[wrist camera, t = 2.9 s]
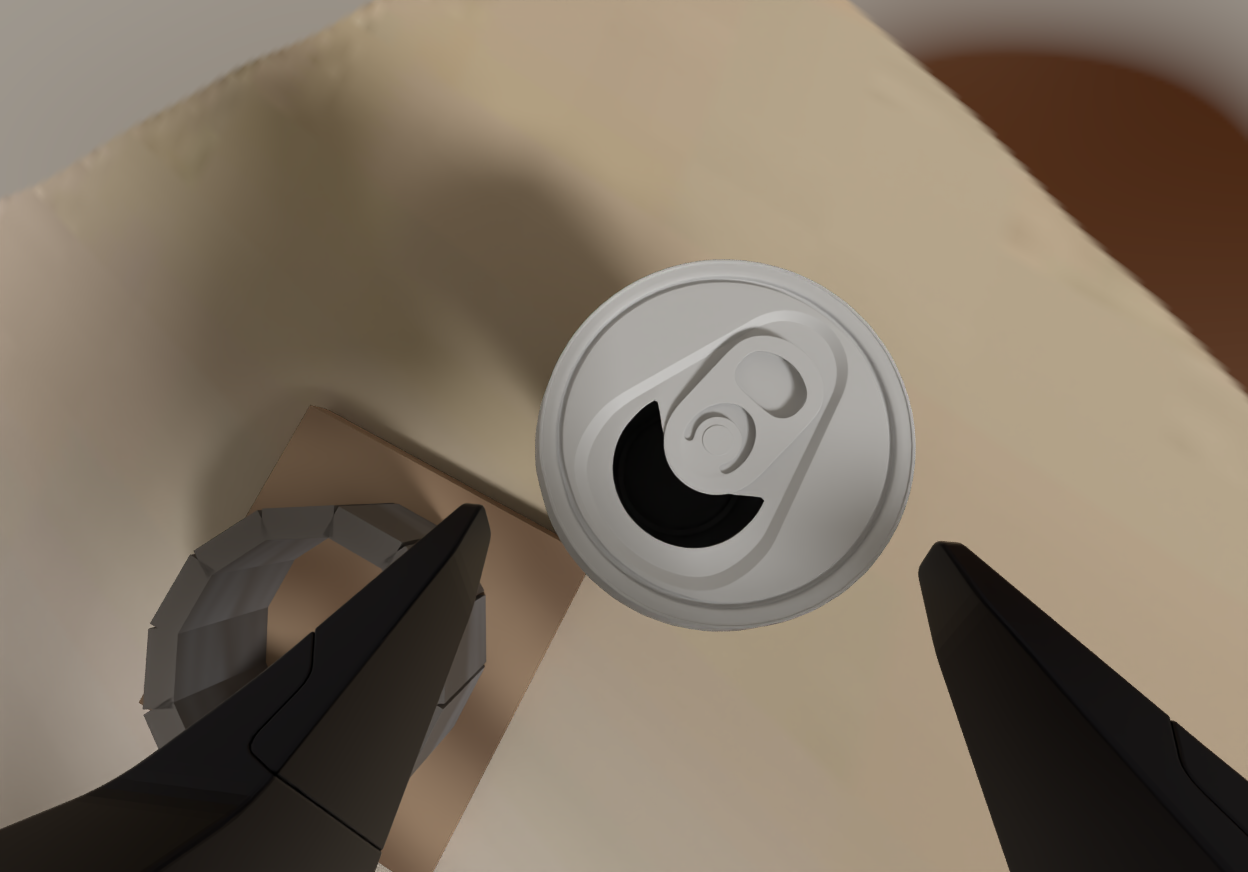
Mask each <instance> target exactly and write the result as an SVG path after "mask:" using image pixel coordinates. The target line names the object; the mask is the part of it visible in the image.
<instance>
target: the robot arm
mask: <svg viewBox="0 0 1248 872" xmlns="http://www.w3.org/2000/svg"><path fill="white" fill-rule="evenodd" d="M490 538H491V530H490V525H489V522H488V518H487V514H486V510H485V508H484V506H483V505H481V504H471V503H465V504H462V505H460V506H459V507H458V508H457V509H456V510H454V511H453V512H452V513H451V514H450V515H449V516H447V517H446V518H445V519H444V520H443V521H441V522H440V523H439V524H438V525H437V526H436V527H434V528H433V529H432V530H431V531H430V532H429V533H427V534H426V535H425V536H424V537H423V538H421V539H420V540H419V541H418V542H417V543H416V544H414V545H413V546H412V547H411V548H410V549H408V550H407V551H406V552H405V553H404V554H403V555H401V556H400V557H399V558H398V559H397V560H395V561H394V562H393V563H392V564H391V565H390V566H388V567H387V568H386V569H385V570H384V571H382V572H381V573H380V574H379V575H378V576H377V577H375V578H374V579H373V580H372V581H371V582H369V583H368V584H367V585H366V586H365V587H364V588H362V589H361V590H360V591H359V592H358V593H357V594H355V595H354V596H353V597H352V598H351V599H349V600H348V601H347V602H346V603H345V604H344V605H342V606H341V607H340V608H339V609H338V610H336V611H335V612H334V613H333V614H332V615H331V616H329V617H328V618H327V619H326V620H325V621H323V622H322V623H321V624H320V625H319V626H318V627H316V629H315V632H310V633H309V634H308V635H307V636H306V637H304V638H303V639H302V640H301V641H300V642H298V643H297V644H296V645H295V646H294V647H293V648H291V649H290V650H289V651H288V652H286V653H285V654H284V655H283V656H282V657H280V658H279V659H278V660H277V661H275V662H274V663H273V664H272V665H270V666H269V667H268V668H267V669H266V670H264V671H263V672H262V673H260V674H259V675H258V676H257V677H255V678H254V679H253V680H251V681H250V682H249V683H247V684H246V685H245V686H243V687H242V688H241V689H239V690H238V691H237V692H235V693H234V694H233V695H232V696H230V697H229V698H228V699H226V700H225V701H223V702H222V703H221V704H219V705H218V706H217V707H215V708H214V709H213V710H211V711H210V712H208V713H207V714H206V715H204V716H203V717H202V718H200V719H199V720H198V721H196V722H195V723H193V724H192V725H191V726H189V727H188V728H187V729H185V730H184V731H183V732H181V733H180V734H179V735H177V736H176V737H174V738H173V739H172V740H170V741H169V742H168V743H166V744H165V745H164V746H162V747H161V748H159V749H158V750H157V751H155V752H154V753H153V754H151V755H150V756H149V757H147V758H146V759H144V760H143V761H141V762H140V763H139V764H137V765H136V766H134V767H133V768H131V769H130V770H128V771H126V772H125V773H123V774H122V775H120V776H118V777H117V778H115V779H113V780H111V781H110V782H108V783H106V784H104V785H102V786H101V787H99V788H97V789H95V790H93V791H91V792H89V793H87V794H85V795H82V796H80V797H78V798H75V799H73V800H71V801H68V802H66V803H63V804H61V805H58V806H56V807H54V808H51V809H49V810H46V811H44V812H41V813H39V814H36V815H34V816H31V817H29V818H26V819H24V820H22V821H19V822H17V823H14V824H12V825H9V826H7V827H4V828H2V829H0V872H375V870H376V867H377V865H378V862H379V859H380V857H381V854H382V852H381V850H383V848H384V845H385V843H386V840H387V837H388V835H389V832H390V829H391V827H392V824H393V821H394V819H395V816H396V813H397V811H398V808H399V805H400V803H401V800H402V797H403V795H404V792H405V789H406V787H407V784H408V781H409V779H410V776H411V773H412V771H413V768H414V765H415V763H416V760H417V757H418V755H419V752H420V749H421V747H422V744H423V741H424V739H425V736H426V733H427V731H428V728H429V725H430V723H431V720H432V717H433V714H434V712H435V709H436V706H437V704H438V701H439V698H440V696H441V693H442V690H443V688H444V685H445V682H446V680H447V677H448V674H449V672H450V669H451V666H452V664H453V661H454V658H455V656H456V653H457V650H458V648H459V645H460V642H461V640H462V637H463V634H464V632H465V629H466V626H467V624H468V621H469V618H470V615H471V612H472V610H473V606H474V603H475V599H476V595H477V591H478V587H479V583H480V579H481V575H482V571H483V567H484V563H485V559H486V555H487V551H488V547H489V543H490ZM918 577H919V582H920V586H921V591H922V595H923V600H924V604H925V609H926V613H927V618H928V623H929V627H930V632H931V636H932V641H933V644H934V648H935V652H936V656H937V659H938V662H939V665H940V668H941V671H942V674H943V677H944V680H945V683H946V686H947V689H948V692H949V694H950V697H951V700H952V703H953V706H954V709H955V712H956V715H957V718H958V721H959V724H960V727H961V730H962V733H963V736H964V738H965V741H966V744H967V747H968V750H969V753H970V756H971V759H972V762H973V765H974V768H975V771H976V774H977V777H978V780H979V782H980V785H981V788H982V791H983V794H984V797H985V800H986V803H987V806H988V809H989V812H990V815H991V818H992V821H993V824H994V826H995V829H996V832H997V835H998V838H999V841H1000V844H1001V847H1002V850H1003V853H1004V856H1005V859H1006V862H1007V865H1008V868H1009V870H1010V872H1248V781H1247V780H1246V779H1245V778H1244V777H1242V776H1241V775H1240V774H1239V773H1238V772H1236V771H1235V770H1234V769H1233V768H1231V767H1230V766H1229V765H1228V764H1226V763H1225V762H1224V761H1223V760H1222V759H1220V758H1219V757H1218V756H1217V755H1215V754H1214V753H1213V752H1212V751H1210V750H1209V749H1208V748H1207V747H1206V746H1204V745H1203V744H1202V743H1201V742H1200V741H1198V740H1197V739H1196V738H1195V737H1194V736H1192V735H1191V734H1190V733H1189V732H1188V731H1186V730H1185V729H1184V728H1183V727H1182V726H1180V725H1179V724H1178V723H1177V722H1175V721H1172V720H1171V721H1170V717H1169V716H1168V715H1167V714H1166V713H1165V712H1163V711H1162V710H1161V709H1160V708H1159V707H1157V706H1156V705H1155V704H1154V703H1153V702H1151V701H1150V700H1149V699H1148V698H1147V697H1145V696H1144V695H1143V694H1142V693H1141V692H1139V691H1138V690H1137V689H1136V688H1135V687H1133V686H1132V685H1131V684H1130V683H1129V682H1127V681H1126V680H1125V679H1124V678H1123V677H1121V676H1120V675H1119V674H1118V673H1117V672H1116V671H1114V670H1113V669H1112V668H1111V667H1110V666H1108V665H1107V664H1106V663H1105V662H1104V661H1102V660H1101V659H1100V658H1099V657H1098V656H1096V655H1095V654H1094V653H1093V652H1092V651H1090V650H1089V649H1088V648H1087V647H1086V646H1084V645H1083V644H1082V643H1081V642H1080V641H1078V640H1077V639H1076V638H1075V637H1074V636H1072V635H1071V634H1070V633H1069V632H1068V631H1066V630H1065V629H1064V628H1063V627H1062V626H1060V625H1059V624H1058V623H1057V622H1056V621H1054V620H1053V619H1052V618H1051V617H1050V616H1048V615H1047V614H1046V613H1045V612H1044V611H1043V610H1041V609H1040V608H1039V607H1038V606H1037V605H1035V604H1034V603H1033V602H1032V601H1031V600H1029V599H1028V598H1027V597H1026V596H1025V595H1023V594H1022V593H1021V592H1020V591H1019V590H1017V589H1016V588H1015V587H1014V586H1013V585H1011V584H1010V583H1009V582H1008V581H1007V580H1005V579H1004V578H1003V577H1002V576H1001V575H999V574H998V573H997V572H996V571H995V570H993V569H992V568H991V567H990V566H989V565H987V564H986V563H985V562H984V561H983V560H981V559H980V558H979V557H978V556H977V555H975V554H974V553H973V552H972V551H971V550H970V549H968V548H967V547H966V546H964V545H963V544H961V543H957V542H947V541H938V542H936V543H935V544H934V545H933V546H932V548H931V549H930V551H929V552H928V554H927V555H926V557H925V558H924V560H923V561H922V563H921V565H920V567H919V571H918Z"/></svg>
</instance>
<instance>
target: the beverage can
mask: <svg viewBox="0 0 1248 872" xmlns="http://www.w3.org/2000/svg"><path fill="white" fill-rule="evenodd" d="M915 448H916V444H915V428H914V421H913V414H912V410H911V406H910V401H909V397H908V394H907V391H906V388H905V385H904V382H903V380H902V378H901V375H900V373H899V371H898V368H897V366H896V364H895V362H894V360H893V358H892V357H891V355H890V353H889V351H888V350H887V348H886V347H885V345H884V344H883V342H882V341H881V339H880V338H879V337H878V335H877V334H876V333H875V331H874V330H873V329H872V328H871V326H870V325H869V324H868V323H867V322H866V321H865V320H864V319H863V318H862V317H861V316H860V315H859V314H858V313H857V312H856V311H855V310H854V309H853V308H852V307H851V306H850V305H848V304H847V303H846V302H845V301H843V300H842V299H841V298H839V297H838V296H836V295H835V294H834V293H832V292H831V291H829V290H828V289H826V288H825V287H823V286H821V285H820V284H818V283H816V282H814V281H812V280H810V279H808V278H806V277H803V276H801V275H799V274H797V273H794V272H792V271H789V270H786V269H783V268H779V267H776V266H772V265H768V264H763V263H758V262H752V261H745V260H731V259H722V260H704V261H696V262H690V263H685V264H680V265H676V266H673V267H669V268H666V269H663V270H660V271H657V272H655V273H652V274H650V275H648V276H645V277H643V278H641V279H639V280H637V281H635V282H633V283H632V284H630V285H628V286H626V287H625V288H623V289H622V290H620V291H619V292H617V293H616V294H614V295H613V296H612V297H610V298H609V299H608V300H607V301H605V302H604V303H603V304H602V305H600V306H599V307H598V308H597V309H596V310H595V311H594V312H593V313H592V314H591V315H590V316H589V317H588V318H587V319H586V320H585V321H584V322H583V323H582V325H581V326H580V327H579V328H578V330H577V331H576V332H575V333H574V335H573V336H572V338H571V339H570V340H569V342H568V344H567V345H566V347H565V349H564V350H563V352H562V354H561V356H560V358H559V359H558V361H557V363H556V365H555V368H554V370H553V372H552V375H551V378H550V380H549V382H548V385H547V388H546V390H545V393H544V396H543V399H542V402H541V406H540V411H539V416H538V422H537V428H536V439H535V460H536V471H537V476H538V481H539V485H540V489H541V492H542V496H543V500H544V503H545V507H546V510H547V513H548V516H549V519H550V521H551V524H552V526H553V528H554V530H555V531H556V533H557V535H558V537H559V539H560V540H561V542H562V544H563V545H564V547H565V549H566V550H567V552H568V553H569V554H570V556H571V557H572V558H573V560H574V561H575V562H576V563H577V564H578V566H579V567H580V568H581V569H582V570H583V572H584V573H585V574H586V575H587V576H588V577H589V578H590V579H591V580H593V581H594V582H595V583H596V584H597V585H598V586H599V587H600V588H602V589H603V590H604V591H605V592H607V593H608V594H609V595H610V596H612V597H613V598H615V599H616V600H618V601H619V602H621V603H622V604H624V605H626V606H628V607H629V608H631V609H633V610H635V611H636V612H638V613H640V614H642V615H645V616H647V617H650V618H653V619H655V620H658V621H661V622H663V623H667V624H670V625H674V626H679V627H684V628H689V629H695V630H702V631H738V630H745V629H751V628H757V627H762V626H767V625H772V624H777V623H781V622H784V621H788V620H791V619H794V618H796V617H799V616H801V615H804V614H807V613H809V612H811V611H813V610H816V609H817V608H819V607H821V606H823V605H824V604H826V603H828V602H829V601H831V600H832V599H834V598H836V597H837V596H839V595H840V594H842V593H843V592H844V591H846V590H847V589H848V588H849V587H850V586H852V585H853V584H854V583H855V582H856V581H857V580H858V579H859V578H860V577H861V576H863V575H864V574H865V573H866V572H867V571H868V570H869V568H870V567H871V566H872V565H873V564H874V562H875V561H876V560H877V558H878V557H879V556H880V554H881V553H882V551H883V550H884V548H885V547H886V545H887V544H888V543H889V541H890V539H891V537H892V535H893V534H894V532H895V530H896V528H897V526H898V524H899V522H900V519H901V517H902V515H903V512H904V510H905V507H906V504H907V500H908V497H909V494H910V489H911V485H912V481H913V474H914V466H915Z"/></svg>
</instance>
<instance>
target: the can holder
mask: <svg viewBox="0 0 1248 872" xmlns="http://www.w3.org/2000/svg"><path fill="white" fill-rule="evenodd" d="M465 503H471V504H481V505H483V506H484V508H485V510H486V514H487V518H488V522H489V525H490V530H491V538H490V543H489V547H488V551H487V555H486V559H485V563H484V567H483V571H482V575H481V579H480V583H479V587H478V591H477V595H476V599H475V603H474V606H473V610H472V612H471V615H470V618H469V621H468V624H467V626H466V629H465V632H464V634H463V637H462V640H461V642H460V645H459V648H458V650H457V653H456V656H455V658H454V661H453V664H452V666H451V669H450V672H449V674H448V677H447V680H446V682H445V685H444V688H443V690H442V693H441V696H440V698H439V701H438V704H437V706H436V709H435V712H434V714H433V717H432V720H431V723H430V725H429V728H428V731H427V733H426V736H425V739H424V741H423V744H422V747H421V749H420V752H419V755H418V757H417V760H416V763H415V765H414V768H413V771H412V773H411V776H410V779H409V781H408V784H407V787H406V789H405V792H404V795H403V797H402V800H401V803H400V805H399V808H398V811H397V813H396V816H395V819H394V821H393V824H392V827H391V829H390V832H389V835H388V837H387V840H386V843H385V845H384V848H383V850H381V852H382V854H381V857H380V859H379V863H380V864H382V865H383V866H385V867H386V868H388V869H389V870H391V871H392V872H433V871H434V869H435V867H436V865H437V864H438V862H439V860H440V858H441V856H442V854H443V852H444V850H445V848H446V846H447V844H448V842H449V840H450V838H451V836H452V834H453V832H454V830H455V828H456V826H457V825H458V823H459V821H460V819H461V817H462V815H463V813H464V811H465V809H466V807H467V805H468V803H469V801H470V799H471V797H472V795H473V793H474V791H475V789H476V787H477V785H478V784H479V782H480V780H481V778H482V776H483V774H484V772H485V770H486V768H487V766H488V764H489V762H490V760H491V758H492V756H493V754H494V752H495V750H496V748H497V746H498V744H499V743H500V741H501V739H502V737H503V735H504V733H505V731H506V729H507V727H508V725H509V723H510V721H511V719H512V717H513V715H514V713H515V711H516V709H517V707H518V705H519V703H520V702H521V700H522V698H523V696H524V694H525V692H526V690H527V688H528V686H529V684H530V682H531V680H532V678H533V676H534V674H535V672H536V670H537V668H538V666H539V664H540V662H541V661H542V659H543V657H544V655H545V653H546V651H547V649H548V647H549V645H550V643H551V641H552V639H553V637H554V635H555V633H556V631H557V629H558V627H559V625H560V623H561V621H562V620H563V618H564V616H565V614H566V612H567V610H568V608H569V606H570V604H571V602H572V600H573V598H574V596H575V594H576V592H577V590H578V588H579V586H580V584H581V582H582V581H583V579H584V577H585V575H586V574H585V573H584V572H583V570H582V569H581V568H580V567H579V566H578V564H577V563H576V562H575V561H574V560H573V558H572V557H571V556H570V554H569V553H568V552H567V550H566V549H565V547H564V545H563V544H562V542H561V540H560V539H559V537H558V535H557V534H555V533H554V532H552V531H550V530H548V529H546V528H544V527H543V526H541V525H539V524H537V523H535V522H533V521H532V520H530V519H528V518H526V517H524V516H522V515H520V514H519V513H517V512H515V511H513V510H511V509H509V508H508V507H506V506H504V505H502V504H500V503H498V502H497V501H495V500H493V499H491V498H489V497H487V496H486V495H484V494H482V493H480V492H478V491H476V490H474V489H473V488H471V487H469V486H467V485H465V484H463V483H462V482H460V481H458V480H456V479H454V478H452V477H451V476H449V475H447V474H445V473H443V472H441V471H440V470H438V469H436V468H434V467H432V466H430V465H428V464H427V463H425V462H423V461H421V460H419V459H417V458H416V457H414V456H412V455H410V454H408V453H406V452H405V451H403V450H401V449H399V448H397V447H395V446H394V445H392V444H390V443H388V442H386V441H384V440H383V439H381V438H379V437H377V436H375V435H373V434H371V433H370V432H368V431H366V430H364V429H362V428H360V427H359V426H357V425H355V424H353V423H351V422H349V421H348V420H346V419H344V418H342V417H340V416H338V415H337V414H335V413H333V412H331V411H329V410H327V409H324V408H320V407H316V406H312V405H310V406H309V408H308V410H307V411H306V413H305V415H304V417H303V418H302V420H301V422H300V424H299V425H298V427H297V429H296V431H295V432H294V434H293V436H292V438H291V439H290V441H289V443H288V444H287V446H286V448H285V450H284V451H283V453H282V455H281V457H280V458H279V460H278V462H277V464H276V465H275V467H274V469H273V470H272V472H271V474H270V476H269V477H268V479H267V481H266V483H265V484H264V486H263V488H262V490H261V491H260V493H259V495H258V497H257V498H256V500H255V502H254V503H253V505H252V507H251V509H250V510H249V512H248V514H247V516H246V517H245V518H244V519H243V520H241V521H239V522H238V523H236V524H235V525H233V526H232V527H230V528H229V529H227V530H225V531H224V532H222V533H221V534H219V535H218V536H216V537H215V538H213V539H211V540H210V541H208V542H207V543H205V544H204V545H202V546H201V547H199V548H197V549H196V550H194V552H195V554H192V555H190V556H189V557H188V559H187V561H186V563H185V564H184V566H183V568H182V569H181V571H180V573H179V575H178V576H177V578H176V580H175V582H174V583H173V585H172V587H171V588H170V590H169V592H168V594H167V595H166V597H165V599H164V600H163V602H162V604H161V606H160V607H159V609H158V611H157V612H156V614H155V616H154V618H153V619H152V621H151V623H150V624H152V625H153V626H155V627H153V628H149V629H148V642H147V656H146V670H145V684H144V694H143V696H142V698H141V700H140V701H139V703H140V704H142V705H143V709H149V710H150V711H149V712H147V713H146V714H144V717H145V719H146V722H147V724H148V726H149V728H150V731H151V733H152V735H153V737H154V740H155V742H156V744H157V747H158V749H159V748H161V747H162V746H164V745H165V744H166V743H168V742H169V741H170V740H172V739H173V738H174V737H176V736H177V735H179V734H180V733H181V732H183V731H184V730H185V729H187V728H188V727H189V726H191V725H192V724H193V723H195V722H196V721H198V720H199V719H200V718H202V717H203V716H204V715H206V714H207V713H208V712H210V711H211V710H213V709H214V708H215V707H217V706H218V705H219V704H221V703H222V702H223V701H225V700H226V699H228V698H229V697H230V696H232V695H233V694H234V693H235V692H237V691H238V690H239V689H241V688H242V687H243V686H245V685H246V684H247V683H249V682H250V681H251V680H253V679H254V678H255V677H257V676H258V675H259V674H260V673H262V672H263V671H264V670H266V669H267V668H268V667H269V666H270V665H272V664H273V663H274V662H275V661H277V660H278V659H279V658H280V657H282V656H283V655H284V654H285V653H286V652H288V651H289V650H290V649H291V648H293V647H294V646H295V645H296V644H297V643H298V642H300V641H301V640H302V639H303V638H304V637H306V636H307V635H308V634H309V633H310V632H315V629H316V627H318V626H319V625H320V624H321V623H322V622H323V621H325V620H326V619H327V618H328V617H329V616H331V615H332V614H333V613H334V612H335V611H336V610H338V609H339V608H340V607H341V606H342V605H344V604H345V603H346V602H347V601H348V600H349V599H351V598H352V597H353V596H354V595H355V594H357V593H358V592H359V591H360V590H361V589H362V588H364V587H365V586H366V585H367V584H368V583H369V582H371V581H372V580H373V579H374V578H375V577H377V576H378V575H379V574H380V573H381V572H382V571H384V570H385V569H386V568H387V567H388V566H390V565H391V564H392V563H393V562H394V561H395V560H397V559H398V558H399V557H400V556H401V555H403V554H404V553H405V552H406V551H407V550H408V549H410V548H411V547H412V546H413V545H414V544H416V543H417V542H418V541H419V540H420V539H421V538H423V537H424V536H425V535H426V534H427V533H429V532H430V531H431V530H432V529H433V528H434V527H436V526H437V525H438V524H439V523H440V522H441V521H443V520H444V519H445V518H446V517H447V516H449V515H450V514H451V513H452V512H453V511H454V510H456V509H457V508H458V507H459V506H460V505H462V504H465Z"/></svg>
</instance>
